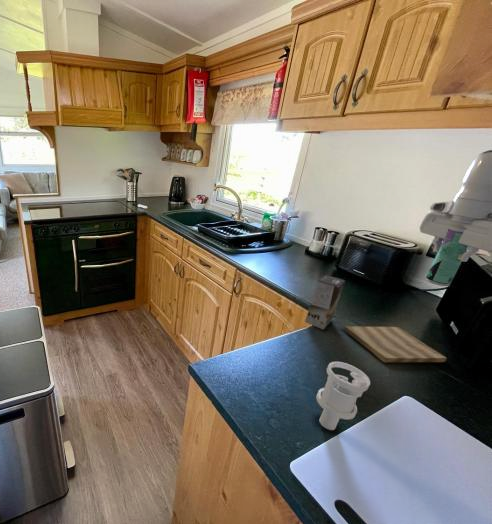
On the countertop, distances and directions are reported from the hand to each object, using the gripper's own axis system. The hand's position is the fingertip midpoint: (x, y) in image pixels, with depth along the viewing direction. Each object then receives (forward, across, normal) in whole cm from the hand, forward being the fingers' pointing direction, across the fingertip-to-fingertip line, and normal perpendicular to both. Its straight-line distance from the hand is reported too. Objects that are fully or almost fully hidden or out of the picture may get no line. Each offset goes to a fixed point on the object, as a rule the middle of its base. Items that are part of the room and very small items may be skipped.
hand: (448, 256), depth 85 cm
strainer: (+30, -31, +51) cm, 67 cm away
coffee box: (+30, +9, +26) cm, 40 cm away
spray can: (+9, 0, 0) cm, 9 cm away
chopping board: (+29, -4, +10) cm, 31 cm away
